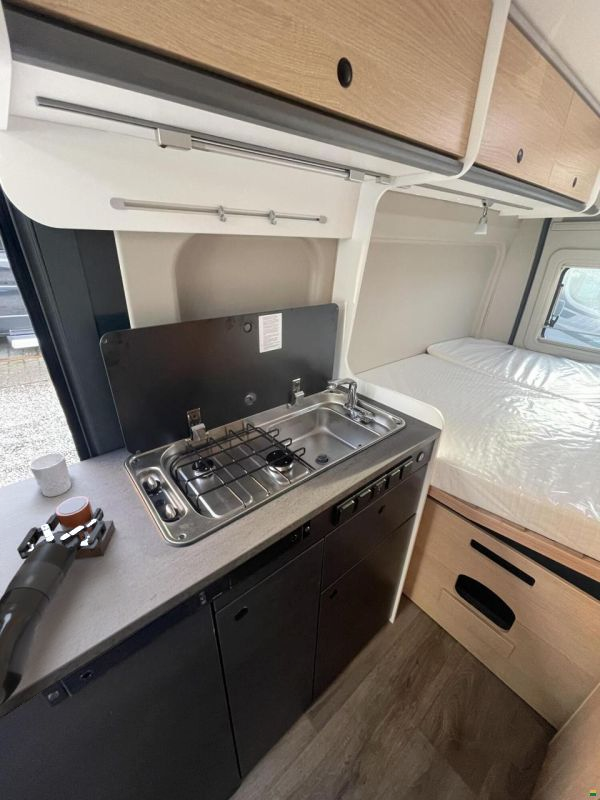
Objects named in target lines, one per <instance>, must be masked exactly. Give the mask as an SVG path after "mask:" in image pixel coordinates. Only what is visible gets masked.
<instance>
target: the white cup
mask: <svg viewBox="0 0 600 800" xmlns="http://www.w3.org/2000/svg"><path fill="white" fill-rule="evenodd" d="M28 467H29V469H30V471H31V473H32V475H33V477H34V479H35V481H36V483H37V485H38V487H39V488H40V490H41V492H42V493H43V496H45V497H49V498H50V497H51V498H52V497H57V496H60V495H63V494H65V493H66V492H67V491H69V490H70V489H71V487H72V482H71V478H70V473H69V469H68V465H67V462H66V458H65V455H64V454H63V453H61V452H51V453H46V454H43V455H40V456H38V457H36V458H34V459H33V460H32V461H31V462H30V463H29V466H28Z"/></svg>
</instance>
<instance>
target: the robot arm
mask: <svg viewBox="0 0 600 800" xmlns="http://www.w3.org/2000/svg"><path fill="white" fill-rule="evenodd" d="M104 516H105V514H104V511H103V509H102V507H96V509H95V510H94V511H93V516H92V518H91V521H89V522H88V523H86V524H85V525H80V526H79V527H77V528H76V529H74V530H68V531H63V530H57V531H56V532H54V531H55V530H56V528H57V527H58V526H59V525H60V523H59V520H58V518H57V515H56V512H54V513H53V514H52V515H50V517H49V518H48V519H47V521H46V522H45V523H44V524H42V525H41V526H40V527H37V526H34V527H31V528H30V529H29V531H28V532H27V534H26V535H25V537H24V538H23V540H22V541H21V543H20V544H19V546H18V547H17V549H16V550H17V552H18V555H19V556H20V559H21V560H24V561H23V563H22V564H21V566H20V567H19V568H18V570H17V571H16V573H15V574H14V575H13V577H12V578H11V580H10V581H9V582H8V584H7V587H6V589H5V591H4V593H3V595H2V596H1V598H0V707H2V706H3V705H4V704H5V703H6V702H7V701H8V700H9V699H10V698H11V697H12V696H13V694H14V693H15V691H16V690H17V689H18V687H19V686H20V684H21V682H22V680H23V678H24V675H25V674H26V671H27V666H28V662H29V658H30V655H31V650H32V646H33V643H34V639H35V634H36V630H37V628H38V626H39V624H40V622H41V620H42V618H43V617H44V615H45V613H46V611H47V610H48V607H49V606H50V604H51V602H52V601H53V600H54V599H55V597H56V595H57V594H58V592H59V590H60V588H61V587H62V585H63V583H64V581H65V578H66V577H67V576H68V574H69V571H70V570H71V568H72V565H73V564H74V562H75V560H76V559H75V556H76V554H77V553H78V552H79V551H80V550H81V549H85V548H89V549H90V551H94V550H96V548H97V547H98V545H99V543H100V541H101V539H102V538H103V536H104V534H105V532H106V530H107V529H106V526H105V523H104V521H105V520H103V518H104ZM90 527H92V528H91V529H90V530H88V528H90ZM87 530H88V531H87ZM53 532H54V533H53ZM80 532H81V533H82V537H81V538H80V537H79V535H78V533H80ZM41 537H44V539H43V540H41V541H40V542H39V540H40V539H41ZM38 542H39V543H38ZM74 559H75V560H74Z"/></svg>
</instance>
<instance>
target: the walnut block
mask: <svg viewBox="0 0 600 800" xmlns="http://www.w3.org/2000/svg"><path fill="white" fill-rule="evenodd" d="M103 521H104V523H105V526H106V529H107V530H106V532H105V534H104V536H103V538H102V539H101V541H100V543H99V545H98V547H97V548H96V550H94V551H90V549H89V548H85V549H81V550H80V551H79V552H78V553H77V554H76V556H75V559H74V561H75V560H83V559H91V558H98V557H99V558H100V557H104V555H105V554H106V551H107V549H108V547H109V544H110V542H111V539H112V538H113V535H114V533H115V531H116V527H115V524H114V523H115V522H114V520H103Z"/></svg>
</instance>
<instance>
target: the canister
mask: <svg viewBox="0 0 600 800" xmlns="http://www.w3.org/2000/svg"><path fill="white" fill-rule="evenodd" d="M55 512H56V515H57V518H58V520H59V525H60V528H61V531H68V530H74V529H76V528H77V527H79V526H80V525H85V524H86V523H88V522H89V521H91V518H92V516H93V514H94V511H93V507H92V504H91V501H90V499H89V498H88V497H87V496H85V495H76V496H72V497H69V498H66V499H65V500H63V501H62V502H60V503H59V504H58V505H57V506H56V508H55ZM55 512H54V513H55ZM91 528H92V527H90V528H88V530H90V529H91ZM88 530H87V531H88ZM78 535H79V537H80V538H81V537H82V533H81V532H80V533H78Z"/></svg>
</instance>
